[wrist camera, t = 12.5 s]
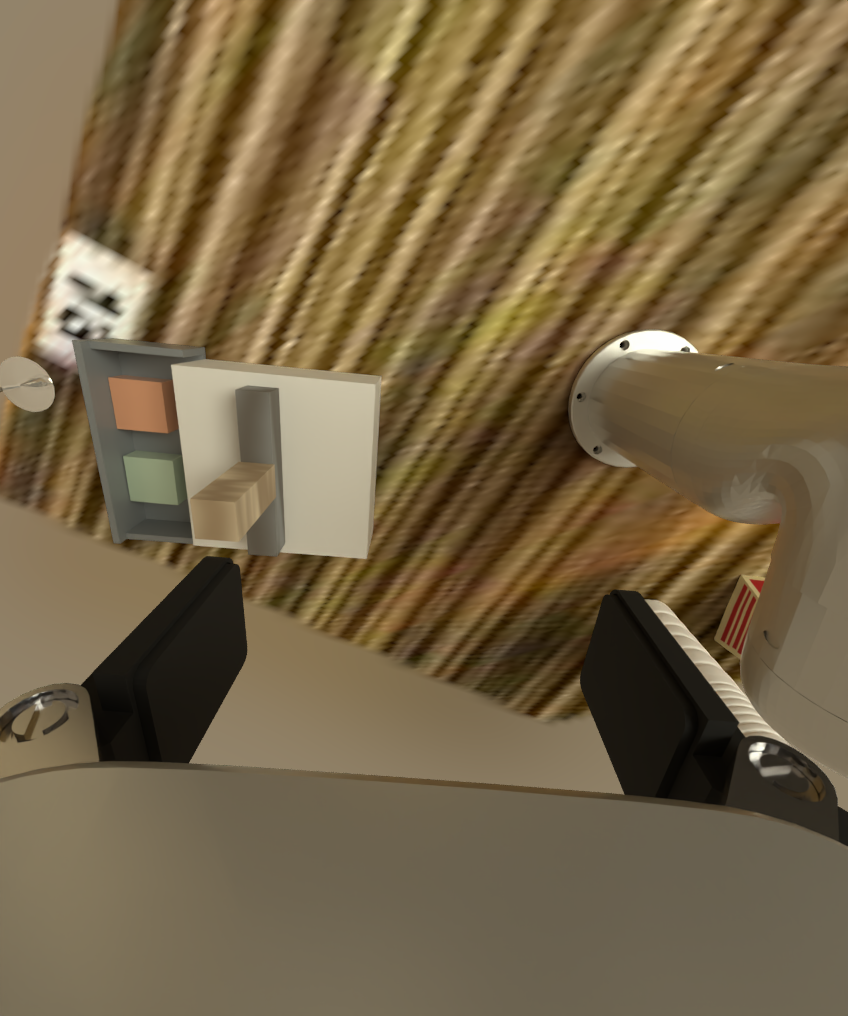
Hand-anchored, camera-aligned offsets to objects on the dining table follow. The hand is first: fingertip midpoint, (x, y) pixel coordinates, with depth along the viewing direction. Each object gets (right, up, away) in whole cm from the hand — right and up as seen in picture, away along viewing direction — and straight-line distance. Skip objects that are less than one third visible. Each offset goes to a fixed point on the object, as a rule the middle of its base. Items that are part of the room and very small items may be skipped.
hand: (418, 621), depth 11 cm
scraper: (-13, +6, +26) cm, 30 cm away
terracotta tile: (-25, +12, +27) cm, 39 cm away
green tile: (-26, +5, +30) cm, 40 cm away
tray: (-24, +9, +31) cm, 41 cm away
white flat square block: (-13, +8, +32) cm, 35 cm away
